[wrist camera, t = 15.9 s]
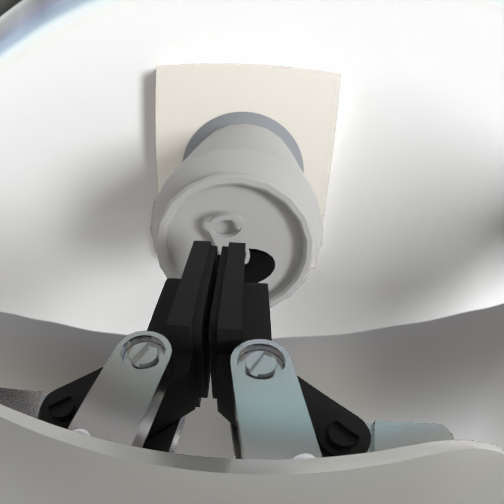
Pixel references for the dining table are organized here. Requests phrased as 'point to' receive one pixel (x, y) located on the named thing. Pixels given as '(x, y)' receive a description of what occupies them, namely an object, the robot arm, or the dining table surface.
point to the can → (241, 208)
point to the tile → (247, 112)
